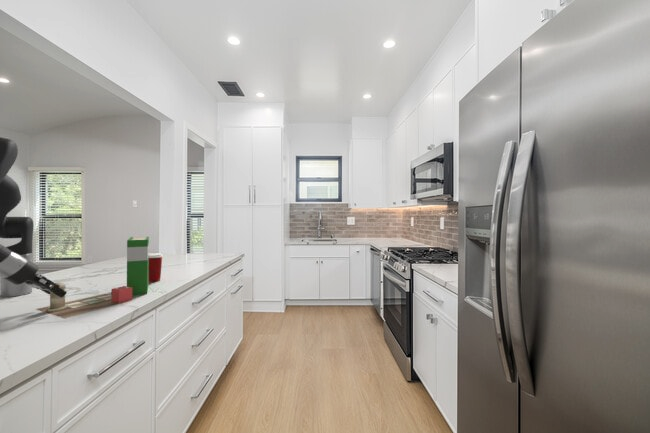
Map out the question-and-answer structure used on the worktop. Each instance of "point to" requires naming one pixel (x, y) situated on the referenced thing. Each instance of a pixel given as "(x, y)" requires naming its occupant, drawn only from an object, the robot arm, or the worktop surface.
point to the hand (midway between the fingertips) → (58, 293)
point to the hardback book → (138, 265)
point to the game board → (83, 305)
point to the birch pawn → (57, 300)
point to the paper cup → (155, 267)
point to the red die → (121, 294)
